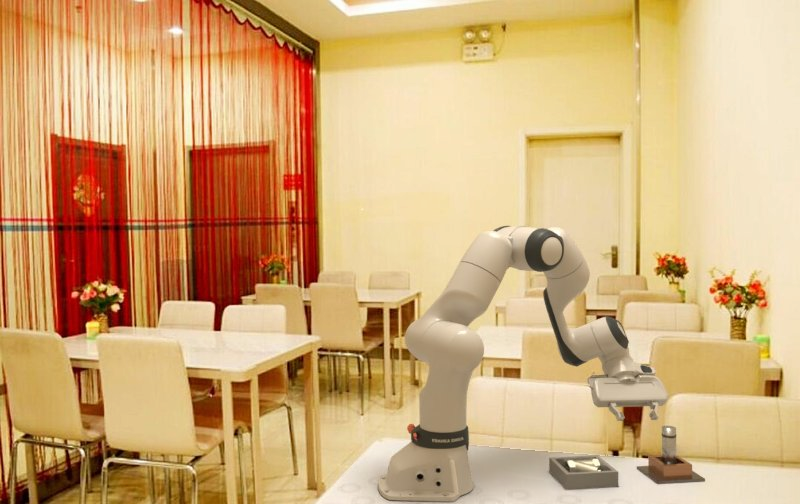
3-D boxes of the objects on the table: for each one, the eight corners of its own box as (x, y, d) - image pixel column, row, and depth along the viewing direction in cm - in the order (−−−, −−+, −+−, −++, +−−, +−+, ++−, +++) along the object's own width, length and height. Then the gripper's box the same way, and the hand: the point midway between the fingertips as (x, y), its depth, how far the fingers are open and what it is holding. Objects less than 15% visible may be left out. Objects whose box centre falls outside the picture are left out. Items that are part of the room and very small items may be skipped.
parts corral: (566, 489, 146) (566, 474, 146) (549, 471, 157) (549, 457, 157) (618, 486, 147) (618, 471, 147) (597, 468, 159) (597, 455, 159)
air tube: (666, 475, 153) (666, 430, 152) (659, 470, 156) (659, 426, 156) (679, 474, 153) (679, 429, 153) (672, 469, 156) (671, 425, 156)
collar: (657, 484, 149) (657, 468, 149) (636, 468, 159) (636, 454, 159) (705, 481, 150) (705, 466, 150) (681, 466, 160) (681, 452, 160)
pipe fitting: (606, 483, 151) (594, 471, 158) (607, 467, 151) (595, 455, 157) (574, 485, 150) (564, 472, 157) (575, 469, 150) (564, 457, 156)
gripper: (589, 368, 173) (604, 414, 163) (659, 367, 175) (679, 412, 165) (582, 381, 177) (596, 426, 167) (651, 380, 179) (669, 424, 170)
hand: (638, 419), depth 166 cm, fingers open, 8 cm apart
